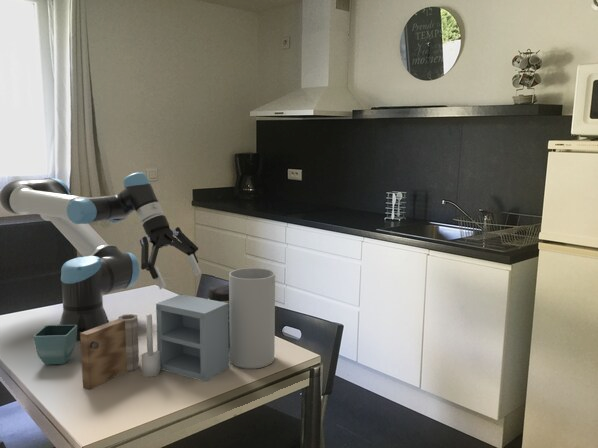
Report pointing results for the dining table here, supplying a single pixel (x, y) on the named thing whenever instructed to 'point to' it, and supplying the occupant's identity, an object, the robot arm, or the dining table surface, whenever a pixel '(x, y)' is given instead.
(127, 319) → the brown panel with tube
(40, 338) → the flower pot
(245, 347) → the cylinder vase
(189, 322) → the cabinet
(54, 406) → the dining table surface
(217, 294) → the coffee jar
